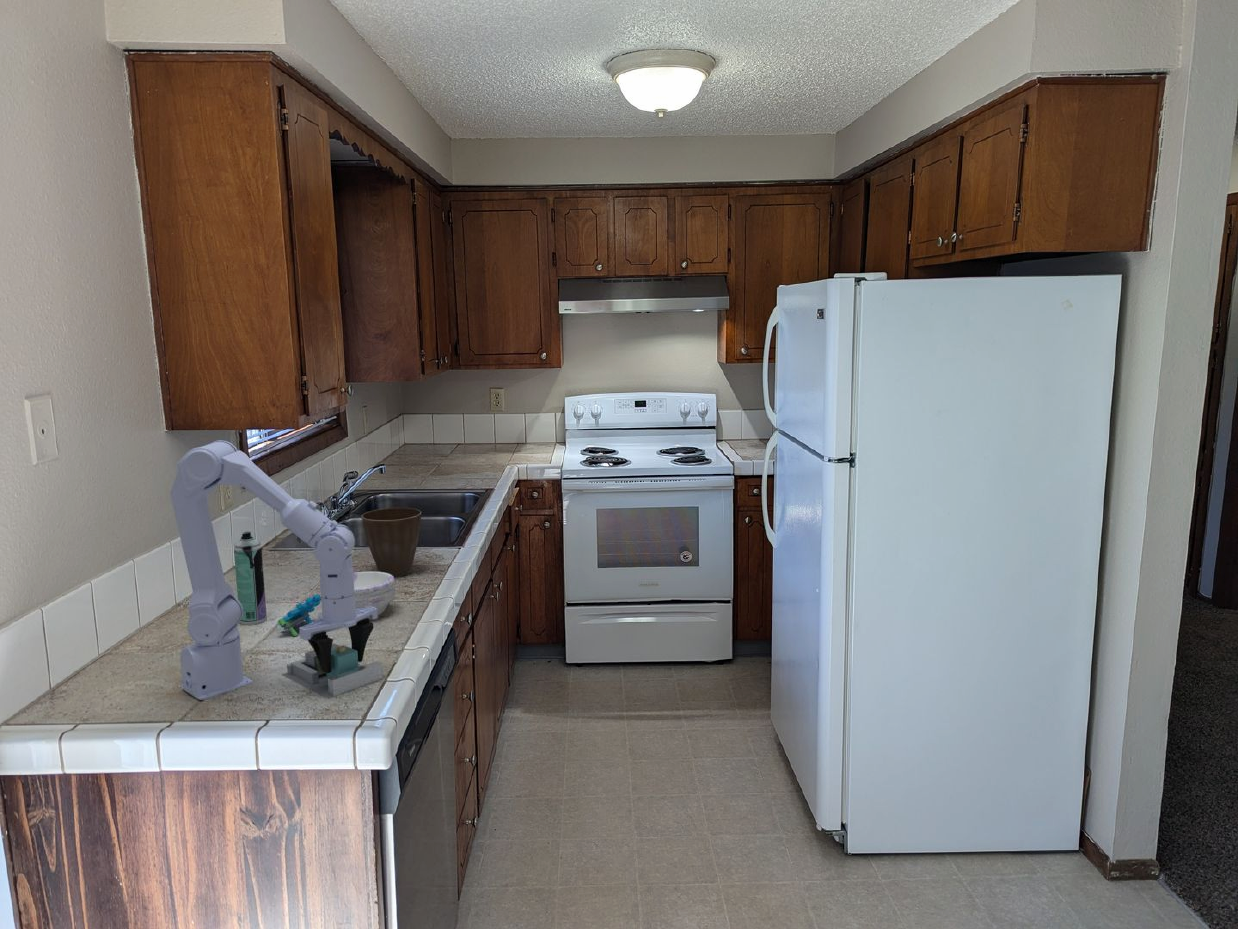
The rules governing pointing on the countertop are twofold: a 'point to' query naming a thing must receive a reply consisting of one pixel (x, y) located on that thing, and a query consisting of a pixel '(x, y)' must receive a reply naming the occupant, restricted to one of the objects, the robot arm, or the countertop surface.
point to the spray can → (250, 579)
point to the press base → (334, 678)
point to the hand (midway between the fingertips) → (342, 665)
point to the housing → (342, 660)
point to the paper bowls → (373, 590)
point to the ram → (315, 660)
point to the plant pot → (392, 538)
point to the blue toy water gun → (300, 614)
